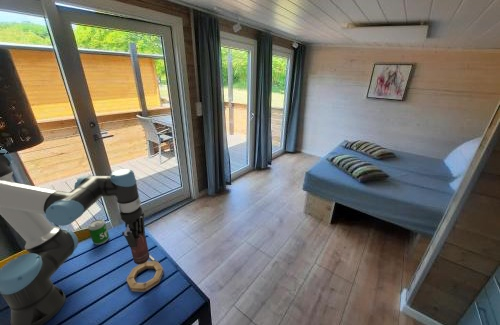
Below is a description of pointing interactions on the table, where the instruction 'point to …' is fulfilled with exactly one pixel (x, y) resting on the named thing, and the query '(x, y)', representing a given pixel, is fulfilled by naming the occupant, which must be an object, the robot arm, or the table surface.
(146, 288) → the wooden ring
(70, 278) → the table surface
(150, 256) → the straight beige square stick
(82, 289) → the table surface
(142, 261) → the can
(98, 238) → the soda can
